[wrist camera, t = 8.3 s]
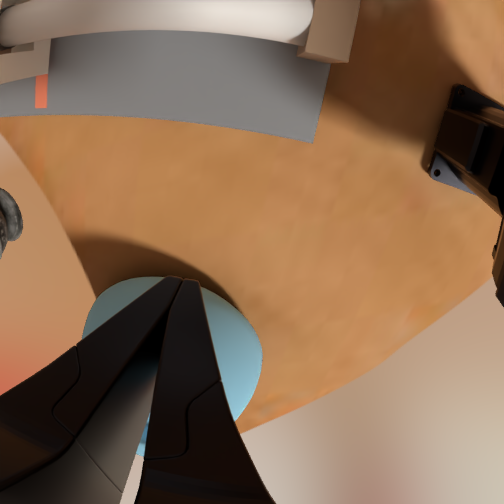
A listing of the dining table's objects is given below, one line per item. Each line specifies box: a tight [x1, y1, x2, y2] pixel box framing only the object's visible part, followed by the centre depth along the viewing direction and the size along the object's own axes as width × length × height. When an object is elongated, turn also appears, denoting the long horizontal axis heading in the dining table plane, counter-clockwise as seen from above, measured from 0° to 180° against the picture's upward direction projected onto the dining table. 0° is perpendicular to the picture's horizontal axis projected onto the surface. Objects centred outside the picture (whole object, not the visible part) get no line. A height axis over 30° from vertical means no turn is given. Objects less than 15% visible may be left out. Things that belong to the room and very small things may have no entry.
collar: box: [0, 0, 51, 84], centre depth 9 cm, size 2×6×7 cm, turn 171°
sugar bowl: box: [82, 277, 263, 457], centre depth 22 cm, size 15×15×12 cm
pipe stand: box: [0, 0, 361, 143], centre depth 11 cm, size 22×12×6 cm, turn 81°
